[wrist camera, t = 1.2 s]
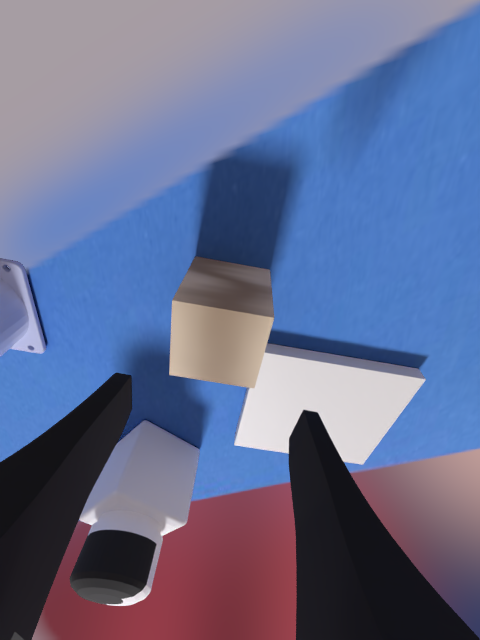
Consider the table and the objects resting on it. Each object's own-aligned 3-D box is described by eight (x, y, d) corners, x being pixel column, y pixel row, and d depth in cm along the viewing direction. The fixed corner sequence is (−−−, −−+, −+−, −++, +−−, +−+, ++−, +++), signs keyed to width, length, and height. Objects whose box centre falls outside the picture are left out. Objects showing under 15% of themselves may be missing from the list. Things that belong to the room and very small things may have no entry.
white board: (235, 434, 29) (234, 445, 28) (259, 341, 22) (259, 351, 21) (359, 453, 29) (362, 464, 28) (418, 368, 23) (425, 379, 22)
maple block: (190, 318, 21) (169, 374, 16) (195, 256, 19) (172, 300, 14) (255, 329, 22) (254, 388, 17) (270, 269, 19) (274, 317, 14)
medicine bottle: (111, 446, 31) (40, 595, 21) (145, 417, 28) (81, 575, 18) (165, 473, 33) (124, 617, 23) (201, 448, 30) (173, 603, 20)
